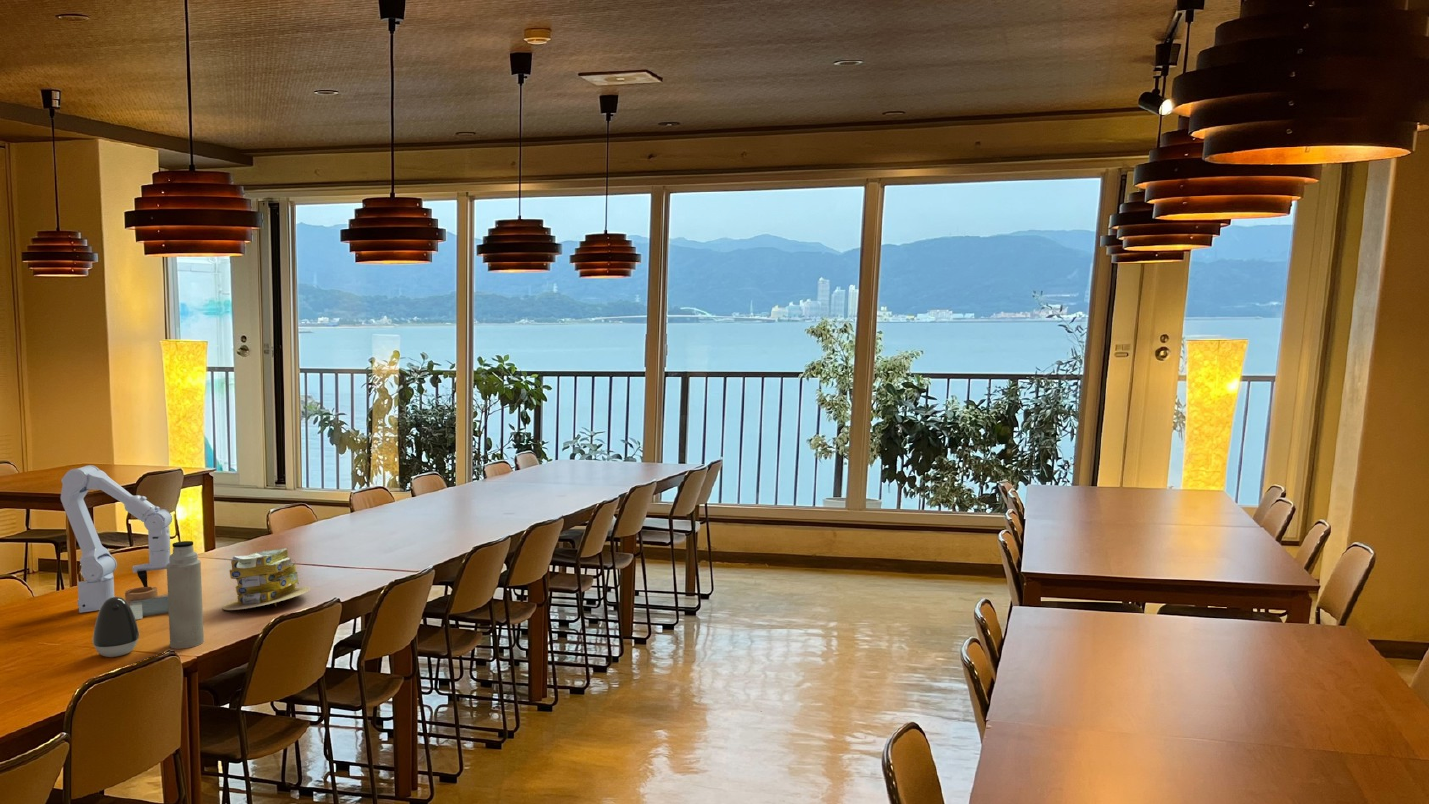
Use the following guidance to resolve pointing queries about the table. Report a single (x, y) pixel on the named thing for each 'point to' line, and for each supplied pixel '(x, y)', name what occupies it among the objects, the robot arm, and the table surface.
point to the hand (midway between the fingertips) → (161, 592)
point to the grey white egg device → (115, 628)
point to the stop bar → (149, 606)
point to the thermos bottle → (184, 597)
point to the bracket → (141, 593)
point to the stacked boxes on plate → (264, 579)
